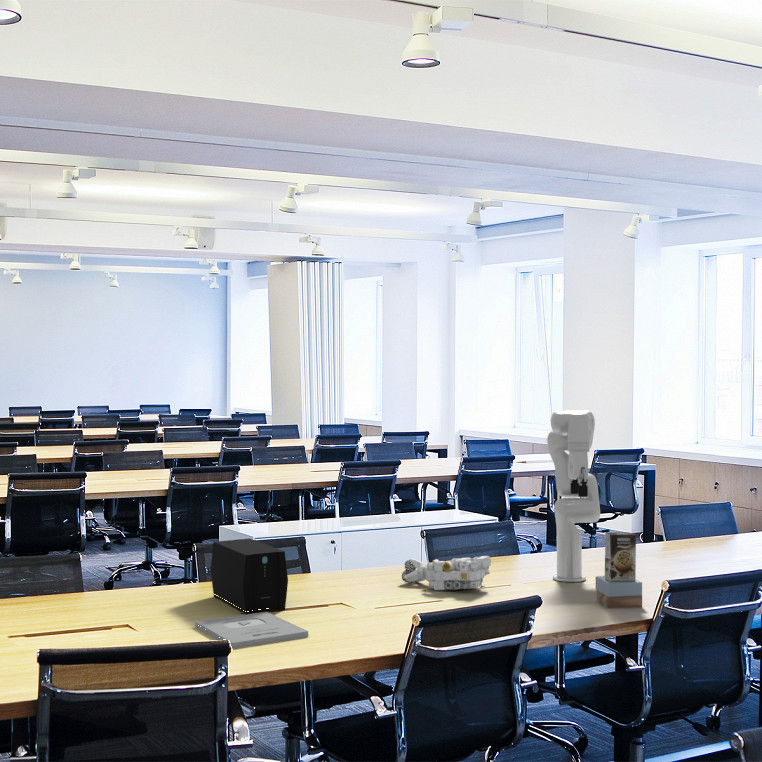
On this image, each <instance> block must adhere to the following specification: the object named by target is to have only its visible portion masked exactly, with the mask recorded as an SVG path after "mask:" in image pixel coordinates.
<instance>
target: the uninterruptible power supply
mask: <svg viewBox="0 0 762 762" xmlns="http://www.w3.org/2000/svg"><path fill="white" fill-rule="evenodd" d="M212 544H213V545H212V553H211V559H210V560H211V562H210V575H211V585H212V592H213V593H214V594H216V595H218V596H219V597H218V596H216V595H214V594H213V593H212V595H213V597H214V598H215V599H217V600H219V601H220V602H222V603H224V604H226V605H228V606H230V608H231V607H232V609H235V610H237V611H238V612H240V613H242V614H243V615H247V614H254V613H262V612H268V613H270V612H276V611H277V612H278V611H286V604H287V596H288V588H289V587H288V584H289V576H288V567H287V559H286V551H285V550H281V549H279V548H276V547H274V546H271V545H268V544H266V543H264V542H262V541H257V540H256V539H252V538H240V539H229V540H217V541H213V543H212ZM220 597H221V598H220ZM222 598H223V599H222ZM224 599H225V600H227V601H228V602H227V601H225V600H224ZM229 602H230V603H229ZM231 603H232V604H231ZM233 604H234V605H235V606H234V605H233ZM236 606H237V607H236ZM238 607H239V608H238ZM240 608H241V609H240ZM266 608H269V609H266ZM258 609H261V610H258ZM243 610H244V611H243ZM252 610H253V611H252ZM245 611H246V612H245ZM247 611H249V612H247Z"/></svg>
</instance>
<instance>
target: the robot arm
mask: <svg viewBox="0 0 762 762" xmlns="http://www.w3.org/2000/svg"><path fill="white" fill-rule="evenodd" d="M595 420H596V419H595V416H594V413H593V412H592V411H590V410H588V409H583V410H581V409H580V410H579V409H578V410H577V409H576V410H575V409H570V410H569V409H568V410H561V411H553V412H552V414H551V417H550V426H551V430H552V431H549V433H548V434H547V437H546V438H547V439H546V441H547V442H546V443H547V449H548V453H549V455H550V458H551V460H552V462H553V465H554V472H555V473H554V474H555V475H554V476H555V486H556V492H557V494H558V495H559V496H560V497H561V498H559V499H557V500H556V501H555V503H554V504H553V505H554V506H553V508H554V517H555V524H556V527H555V528H556V573H555V574H553V575H552V579H553V580H555V581H559V582H564V583H579V582H584V581H586V579H587V578H586V575H584V574H583V572H582V571H583V570H582V569H583V567H582V566H583V565H582V564H583V563H582V557H583V556H582V555H583V554H582V553H583V551H582V548H583V547H582V546H583V545H582V544H583V543H582V533H581V531H580V529H579V528H578V527H577V526H576V525H575V524H579V523H580V524H583V523H586V524H587V523H588V524H589V523H597V522H598V521H599V520H600V517H601V507H600V505H601V504H600V495H599V487H598V486H599V485H598V481H597V478H596V476H595V475H594V474H592V473H589V456H588V453H590V449H592V445H593V439H594V433H595V425H596V424H595ZM566 451H567V452H569V453H567V452H566Z"/></svg>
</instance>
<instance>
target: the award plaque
mask: <svg viewBox="0 0 762 762" xmlns="http://www.w3.org/2000/svg"><path fill="white" fill-rule="evenodd" d="M198 625H199V626H198ZM200 626H201V627H200ZM195 628H196V629H198V630H200V631H201V632H203V633H205V634H207V635H209V636H210V637H212V638H214V639H215V640H216V641H219V640H223V639H226V640H230V642H231V646H232V648H231V649H233V650H234V649H240V648H242V649H243V648H246V647H252V646H253V647H254V646H259V645H265V644H273V643H277V642H285V641H290V640H291V641H292V640H296V639H297V640H298V639H303V638H309V630H307V629H304V628H302V627H300V626H297V625H296V624H293V623H291V622H290V621H287V620H285V619H282V618H280V617H279V616H276V615H275V614H272V613H271V612H262V613H254V614H247V615H245V614H242V615H241V614H240V615H234V616H227V617H221V618H214V619H213V618H212V619H207V620H206V619H205V620H198V621H195ZM205 629H206V630H205ZM219 637H220V638H219Z"/></svg>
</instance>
